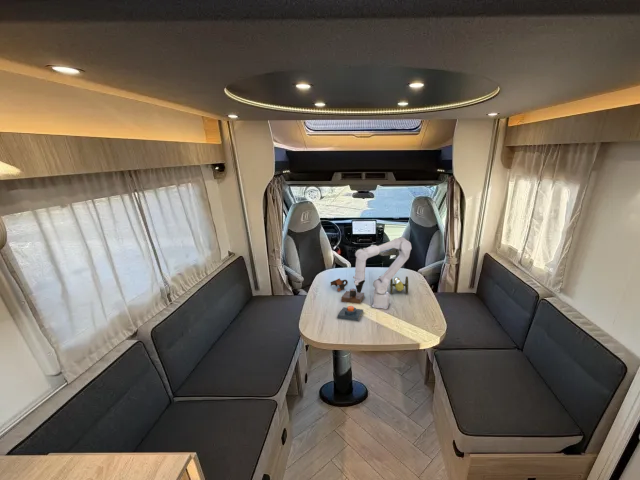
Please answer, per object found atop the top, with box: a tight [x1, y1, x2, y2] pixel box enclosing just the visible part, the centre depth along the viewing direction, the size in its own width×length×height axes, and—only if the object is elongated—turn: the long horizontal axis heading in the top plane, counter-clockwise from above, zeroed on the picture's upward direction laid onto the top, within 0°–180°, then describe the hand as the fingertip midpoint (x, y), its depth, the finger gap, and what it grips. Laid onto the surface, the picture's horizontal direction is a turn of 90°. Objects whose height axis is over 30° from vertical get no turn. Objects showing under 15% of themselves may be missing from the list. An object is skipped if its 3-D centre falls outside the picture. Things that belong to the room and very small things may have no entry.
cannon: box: [389, 275, 409, 295], centre depth 208 cm, size 25×12×11 cm, turn 179°
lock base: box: [340, 290, 365, 305], centre depth 195 cm, size 12×10×3 cm
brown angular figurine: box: [329, 278, 349, 293], centre depth 211 cm, size 12×10×8 cm
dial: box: [349, 288, 357, 296], centre depth 194 cm, size 4×4×4 cm
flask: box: [337, 306, 364, 322], centre depth 175 cm, size 12×10×4 cm
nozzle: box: [346, 305, 355, 311], centre depth 174 cm, size 4×4×2 cm
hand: (358, 292), depth 182 cm, fingers closed
